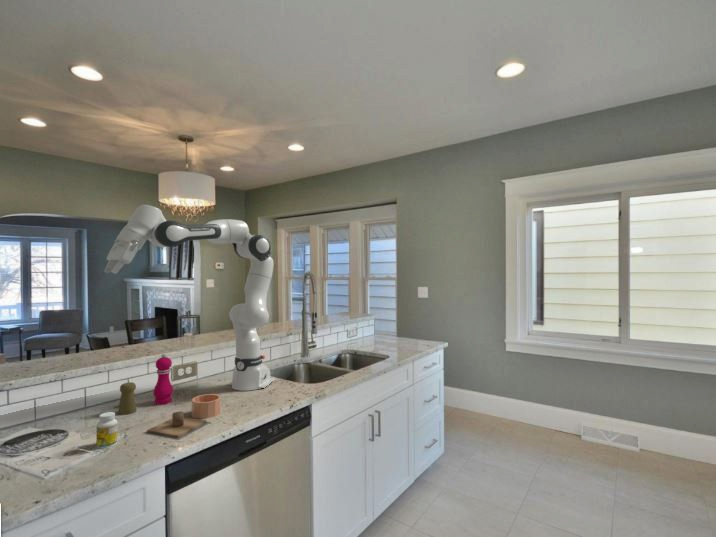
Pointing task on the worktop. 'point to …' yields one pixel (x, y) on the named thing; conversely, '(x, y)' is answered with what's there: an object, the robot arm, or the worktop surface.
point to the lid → (177, 426)
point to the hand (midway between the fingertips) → (109, 272)
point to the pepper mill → (163, 381)
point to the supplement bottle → (106, 430)
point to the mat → (174, 437)
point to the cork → (127, 399)
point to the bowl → (206, 406)
